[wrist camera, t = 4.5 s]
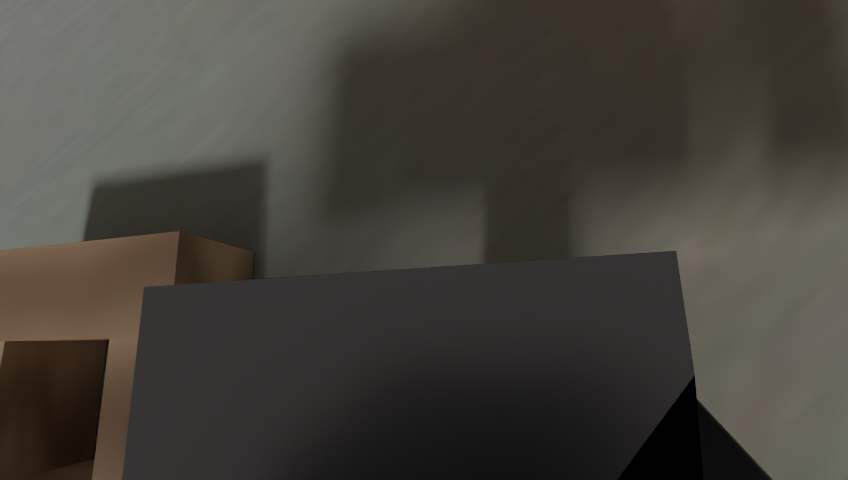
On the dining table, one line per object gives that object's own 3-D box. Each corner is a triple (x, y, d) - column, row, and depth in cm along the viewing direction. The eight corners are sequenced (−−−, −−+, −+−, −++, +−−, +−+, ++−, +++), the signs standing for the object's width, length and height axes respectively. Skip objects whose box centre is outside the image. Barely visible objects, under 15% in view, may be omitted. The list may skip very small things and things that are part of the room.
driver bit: (583, 433, 13) (821, 1231, 1) (475, 430, 14) (71, 913, 2) (572, 323, 14) (675, 252, 2) (470, 326, 15) (144, 286, 3)
